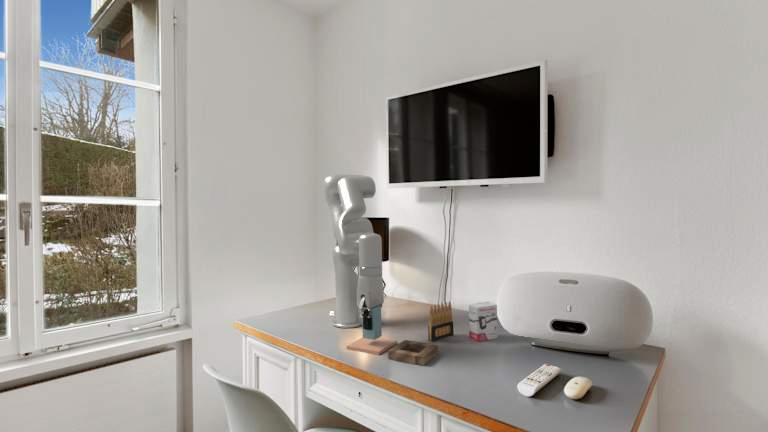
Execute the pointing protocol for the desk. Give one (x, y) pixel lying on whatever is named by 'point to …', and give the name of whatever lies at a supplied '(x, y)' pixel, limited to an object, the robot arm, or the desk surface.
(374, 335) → the teal block
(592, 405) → the desk surface
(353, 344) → the tile
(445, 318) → the ammunition clip
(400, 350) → the holder
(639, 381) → the desk surface
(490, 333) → the ink box
